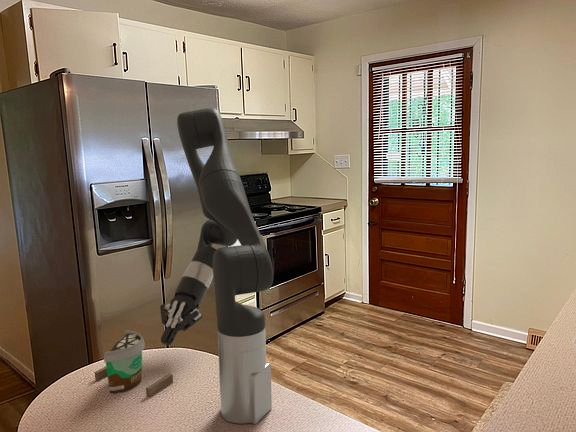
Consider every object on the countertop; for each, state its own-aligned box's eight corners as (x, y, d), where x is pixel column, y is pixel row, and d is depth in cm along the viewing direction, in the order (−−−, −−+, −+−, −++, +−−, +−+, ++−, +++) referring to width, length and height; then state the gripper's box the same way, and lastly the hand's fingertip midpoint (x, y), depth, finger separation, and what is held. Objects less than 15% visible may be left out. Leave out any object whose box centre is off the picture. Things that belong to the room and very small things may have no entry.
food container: (135, 397, 93) (132, 352, 91) (106, 397, 93) (103, 352, 92) (154, 369, 105) (151, 329, 104) (129, 369, 105) (126, 329, 104)
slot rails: (173, 382, 98) (172, 374, 98) (149, 398, 92) (149, 389, 92) (120, 367, 106) (119, 359, 106) (95, 380, 100) (94, 371, 100)
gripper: (168, 272, 117) (136, 332, 108) (208, 278, 111) (177, 342, 102) (183, 286, 123) (153, 345, 113) (221, 292, 116) (193, 355, 107)
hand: (165, 343), depth 108 cm, fingers closed
